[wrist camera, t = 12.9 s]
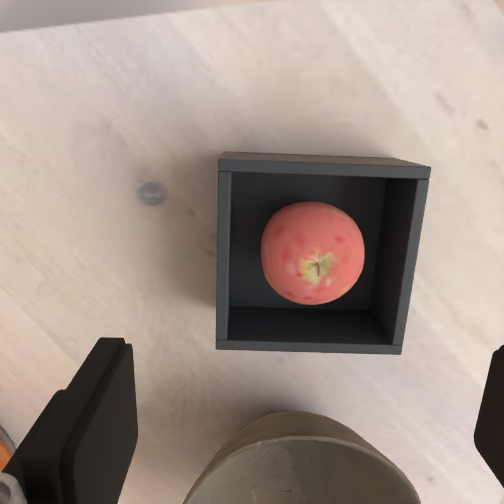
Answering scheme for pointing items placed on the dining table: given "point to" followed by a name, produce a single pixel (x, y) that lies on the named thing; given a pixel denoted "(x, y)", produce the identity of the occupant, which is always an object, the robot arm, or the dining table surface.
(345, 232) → the apple
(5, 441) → the pie
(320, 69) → the dining table surface
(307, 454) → the bowl
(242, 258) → the bin
